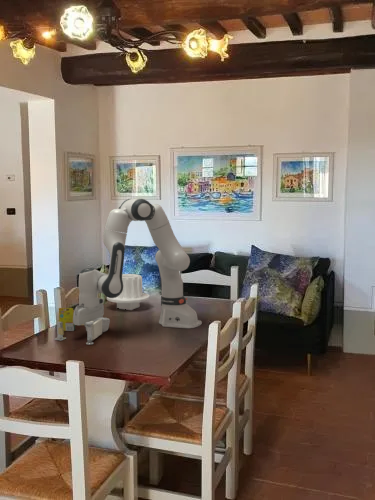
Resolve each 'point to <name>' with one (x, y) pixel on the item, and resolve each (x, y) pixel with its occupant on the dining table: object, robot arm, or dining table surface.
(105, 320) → the ramekin
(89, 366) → the dining table surface
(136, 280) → the ribbed cylinder on disc
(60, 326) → the post
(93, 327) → the gate
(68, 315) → the crayon box
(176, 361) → the dining table surface
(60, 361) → the dining table surface
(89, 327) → the gate post
